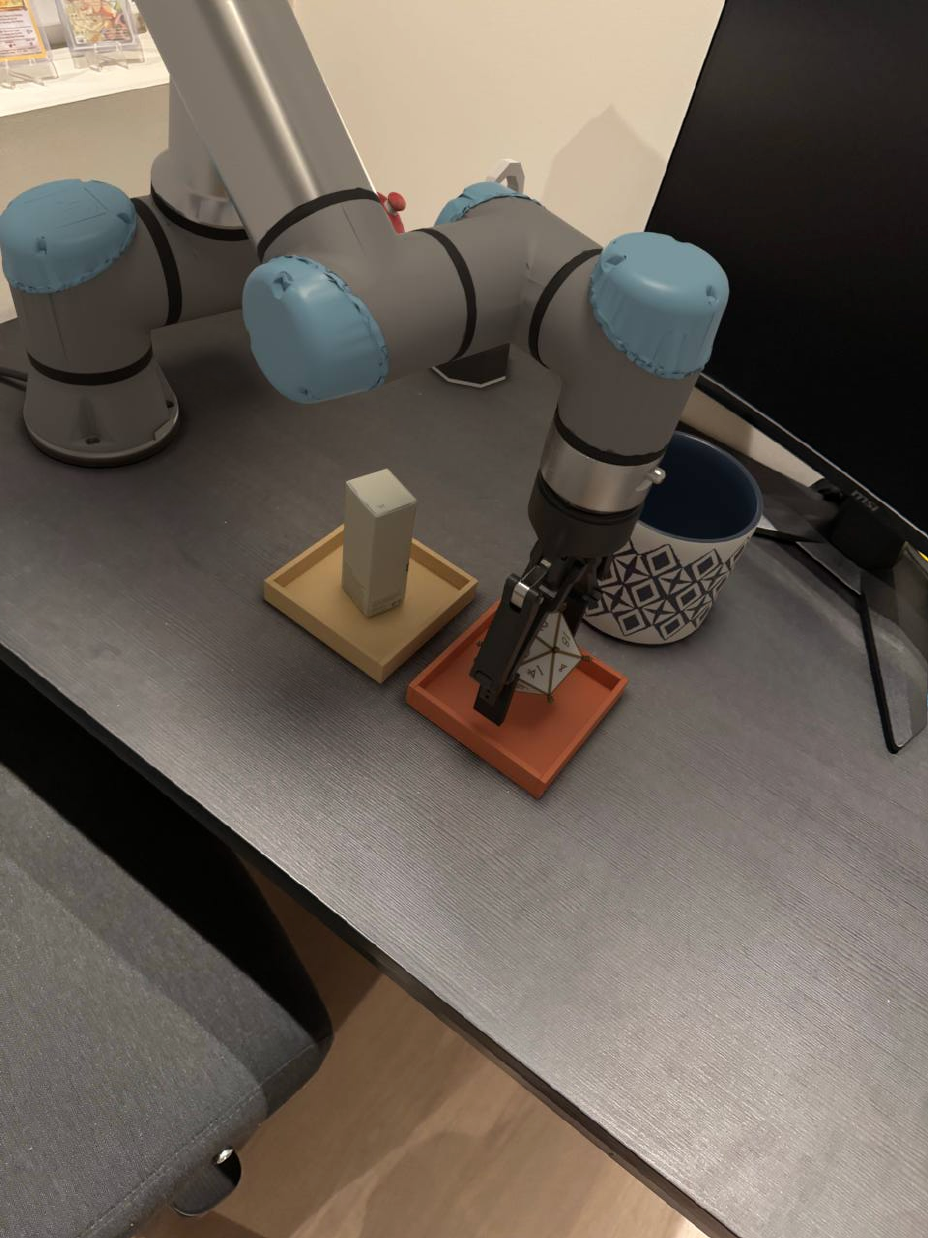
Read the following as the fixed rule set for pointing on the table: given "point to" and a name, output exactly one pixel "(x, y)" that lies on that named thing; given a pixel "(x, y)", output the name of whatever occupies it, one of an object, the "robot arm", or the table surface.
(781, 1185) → the table surface
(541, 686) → the game die
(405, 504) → the box
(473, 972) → the table surface
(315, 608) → the birch tray
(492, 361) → the hook
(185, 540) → the table surface
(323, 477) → the table surface
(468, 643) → the terracotta tray
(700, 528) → the planter
